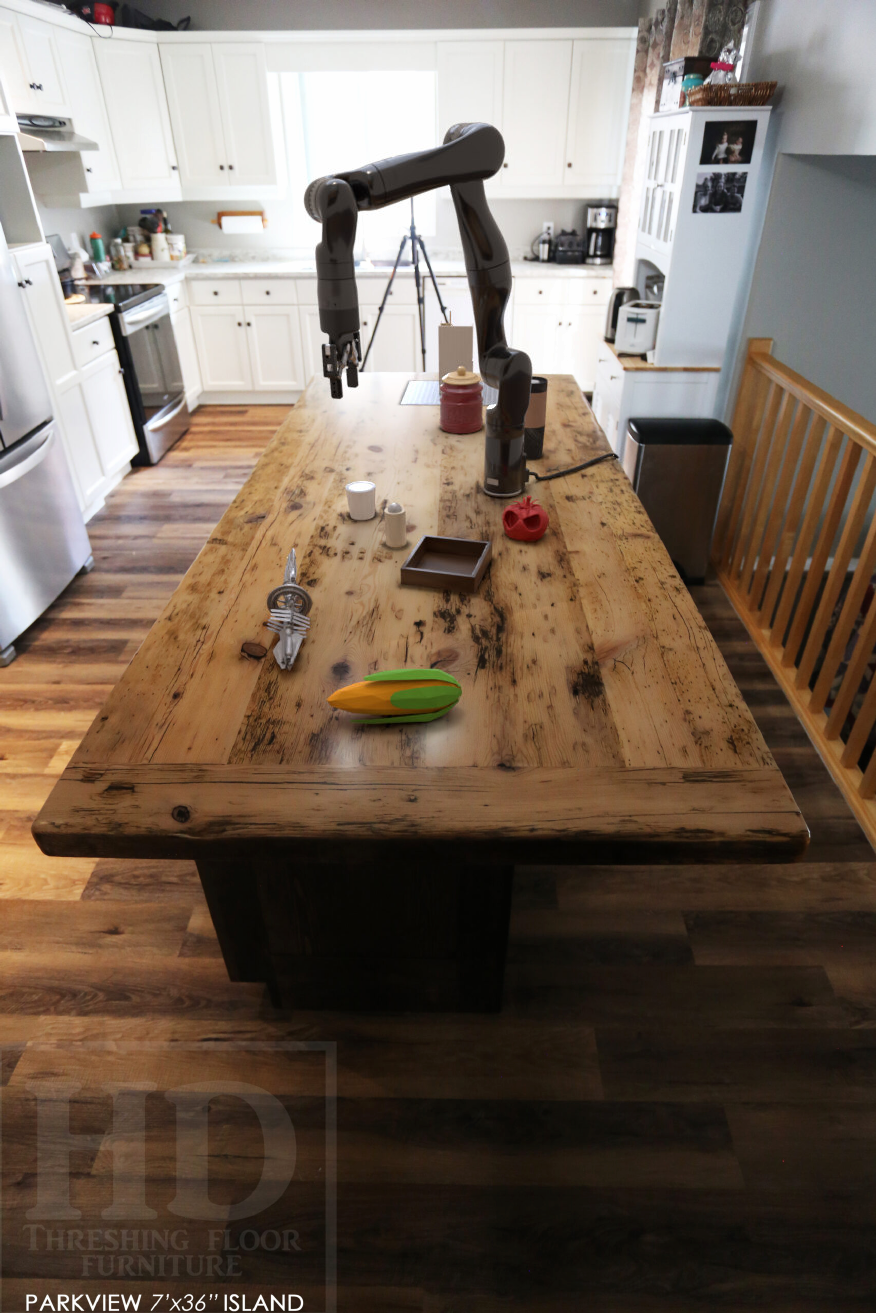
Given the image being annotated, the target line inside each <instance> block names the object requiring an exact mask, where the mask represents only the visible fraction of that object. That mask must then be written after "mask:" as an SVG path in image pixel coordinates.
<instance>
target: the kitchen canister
mask: <svg viewBox="0 0 876 1313" xmlns="http://www.w3.org/2000/svg"><path fill="white" fill-rule="evenodd" d="M481 380H482V378H481V376H479V375H478V374H476V373H475V372H474V371H473V372H467V371H466V369H465V367H463V366H460V367H458V369H457V372H451V373H448V374H447V375H446V376H445V377H443V378H442V381H443V384H442V385H440V387H439V389H440V390H441V397H440V399H439V400H440V405H439V426H440V429H441V430H443V431H444V432H447V433H450V434H472V433H475V432H478V431H480V430H482V428H483V424H484V417H483V412H484V410H483V409H484V408H483V406H484V405H483V397H482V390H483V389H484V387H483V385H482V384H480V382H482V381H481Z"/></svg>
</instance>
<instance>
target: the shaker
mask: <svg viewBox="0 0 876 1313" xmlns="http://www.w3.org/2000/svg"><path fill="white" fill-rule="evenodd" d="M383 513H384V516H383V517H384V531H385V532H384V534H385V544H386V546H388V547H390V548H401V547H404V546H406V545H407V542H408V541H407V540H408V539H407V521H406V520H407V519H406V518H407V516H406V508H405V507H404V506H401V504H400V503H398V502H392V503H390V504H389V505H388V506H387V507H386V508H384V510H383Z"/></svg>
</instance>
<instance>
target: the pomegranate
mask: <svg viewBox="0 0 876 1313" xmlns="http://www.w3.org/2000/svg"><path fill="white" fill-rule="evenodd" d="M532 498H533V496H532V495H526V497H525V496H523V497H522V502H521V501H519V500H513V501H512V503H514V504H510V505H508V506H506V507H505V508H504V509H503V512H502V515H501V520H502V526H503V529H504V532H505V534H506V536H508V538H510V539H511V540H513V541H520V542H524V543H529V542H530V543H531V542H535V541H538V540H540V539H542V537H544V535H545V533H546V531H547V529H548V527H549V524H550V516H549V514H548V513H547V512H546V511H545V509H543V508H542V507H543V505H540V504H539V503H536V501H539V500H540V498H536V499H534V500H533V501H531V500H532Z"/></svg>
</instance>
